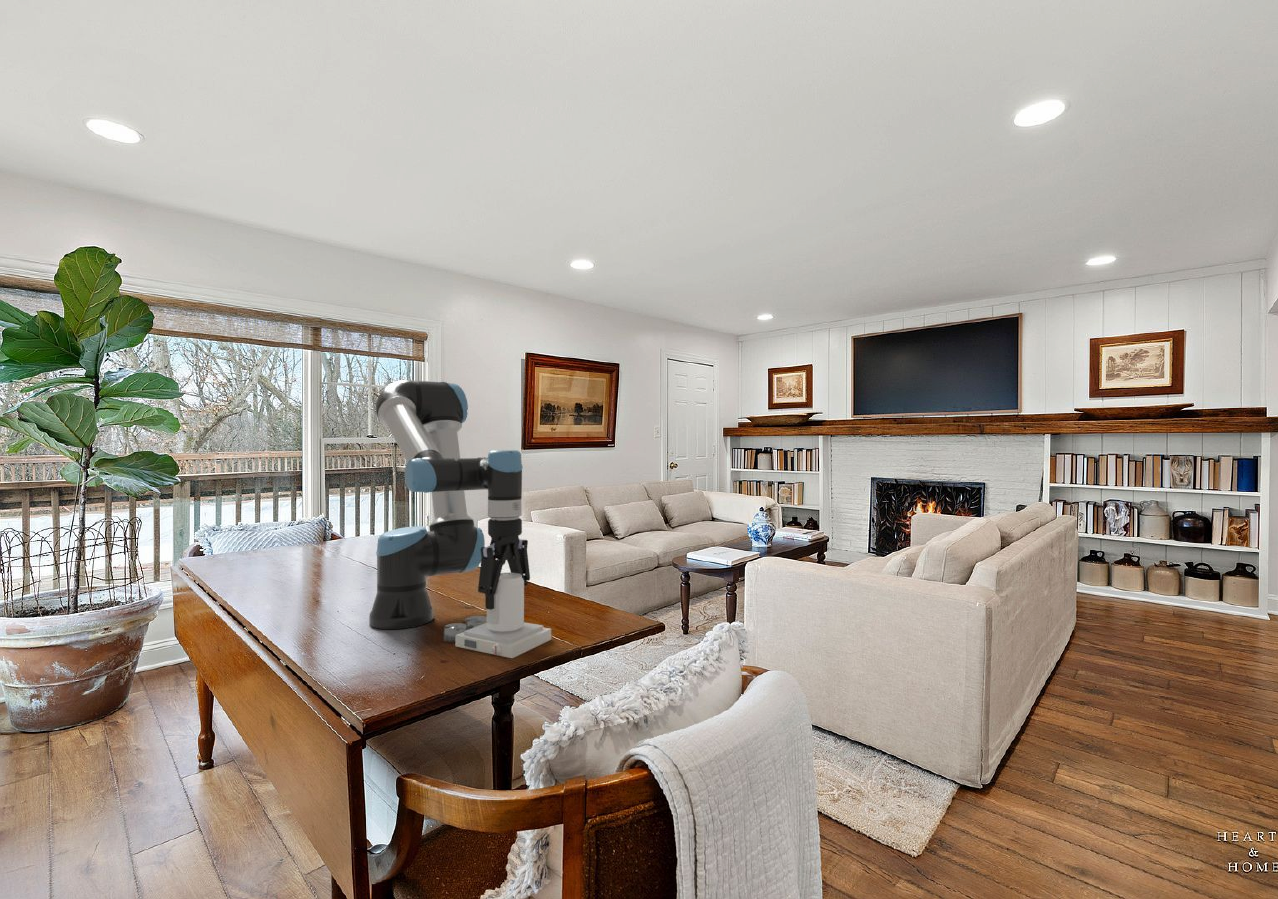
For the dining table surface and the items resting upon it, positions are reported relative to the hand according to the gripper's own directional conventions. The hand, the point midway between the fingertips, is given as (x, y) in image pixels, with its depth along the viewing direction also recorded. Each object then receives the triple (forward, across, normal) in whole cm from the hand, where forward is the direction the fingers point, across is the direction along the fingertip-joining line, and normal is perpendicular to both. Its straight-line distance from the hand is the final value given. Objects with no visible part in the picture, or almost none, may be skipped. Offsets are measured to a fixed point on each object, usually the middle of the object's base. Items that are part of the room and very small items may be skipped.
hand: (505, 618), depth 138 cm
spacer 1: (+6, -3, +12) cm, 14 cm away
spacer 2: (+6, +4, +12) cm, 14 cm away
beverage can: (+3, 0, 0) cm, 3 cm away
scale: (+6, 0, 0) cm, 6 cm away
